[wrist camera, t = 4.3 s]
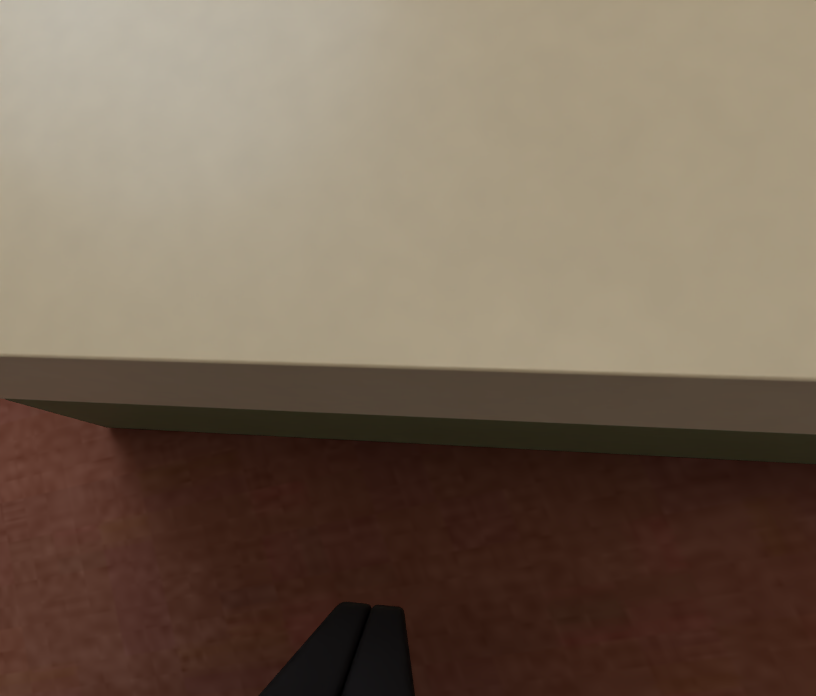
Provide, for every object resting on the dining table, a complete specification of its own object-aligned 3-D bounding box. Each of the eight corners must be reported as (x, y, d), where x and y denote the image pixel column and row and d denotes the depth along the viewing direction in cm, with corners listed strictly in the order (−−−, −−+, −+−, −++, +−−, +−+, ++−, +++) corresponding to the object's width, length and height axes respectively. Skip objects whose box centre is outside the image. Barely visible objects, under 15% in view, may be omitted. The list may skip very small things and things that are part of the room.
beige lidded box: (894, 468, 15) (1248, 394, 8) (105, 427, 19) (-175, 350, 12) (829, -91, 20) (1015, -489, 12) (196, -33, 23) (35, -309, 16)
